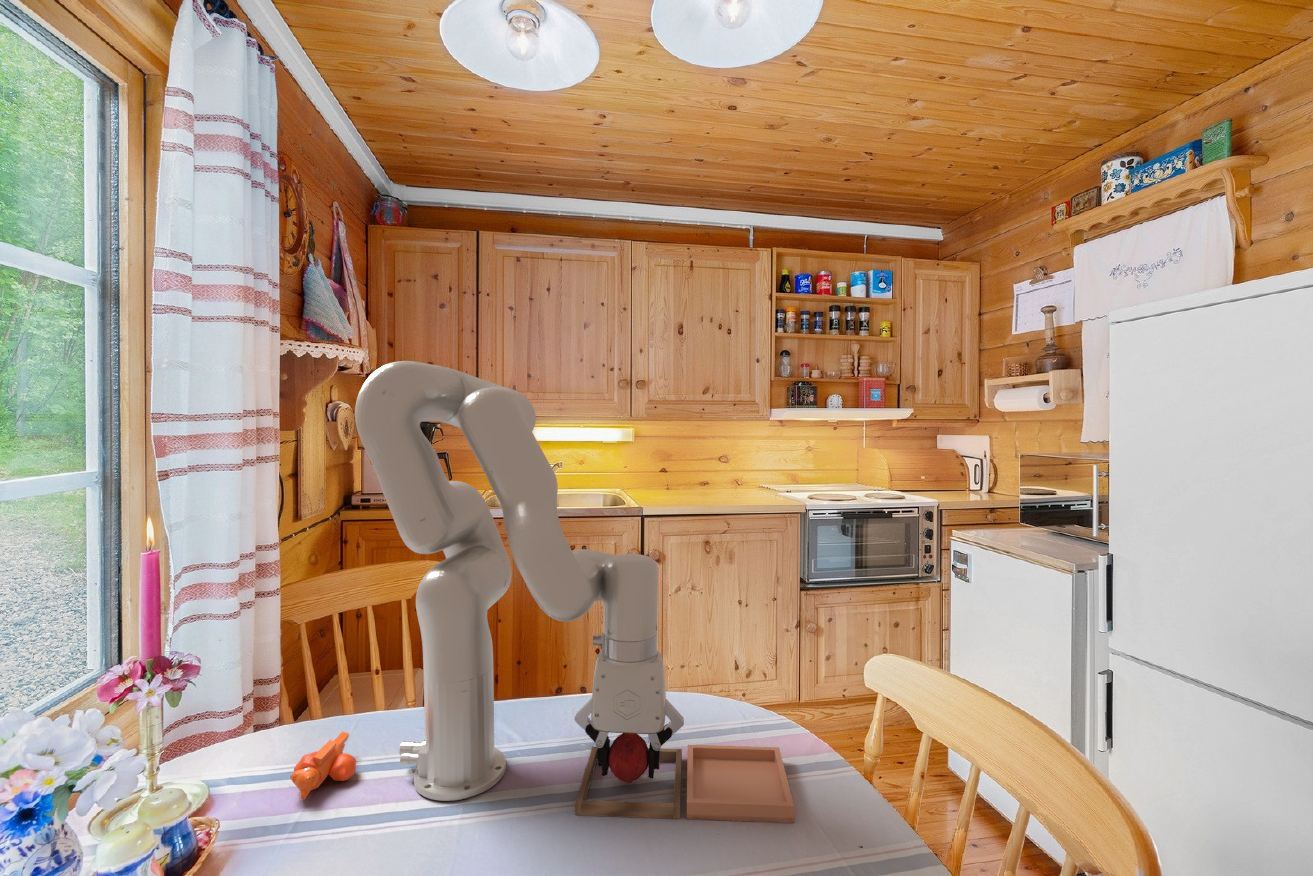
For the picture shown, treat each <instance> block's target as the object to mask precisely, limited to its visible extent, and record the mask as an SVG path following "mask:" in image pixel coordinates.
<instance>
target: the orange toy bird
mask: <svg viewBox="0 0 1313 876" xmlns="http://www.w3.org/2000/svg"><path fill="white" fill-rule="evenodd" d="M349 735H350V733H348V732H345V731H341V732H340V734H339V735H337V736H336V737H335V738H334V740H332V739H329V740H328V741H327V742H326V743H325V744H324V745H322V746H321V747H320V748H319V750H318V751H314V752H310V753H307V754H304V755H302V757H301V759H300V760H299V761H298V762H297V764H296V765H295V766H294V767H293V772H292V774H291V775H290V780H291V781H292V783H293V784H294V785H295V786H296V788H297V790H298V791H299V793H300V794H299V799H300V800H305V799H306V798H307V797H308V796H309V794H310V793H311V792H312V791H313V790H312V789H314V790H316V789H317V788H319V787H320V786H321V785H322V783H323V782H324V781H325V780H326V779H327V778H328V776H329V777H330V778H331V779H332V780H333V781H338V782H340V781H341V782H345V780H346V781H348V780H347V779H349V778H350V779H351V778H352V777H353V776H354V775H355V773H356V771H357V761H356V758H355V757H354V756H353V755H351V754H349V753H345V752H343V751H344V749H345V746H346V742H347V741H348V739H349ZM350 779H349V780H350ZM311 790H312V791H311ZM310 791H311V792H310Z"/></svg>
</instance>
